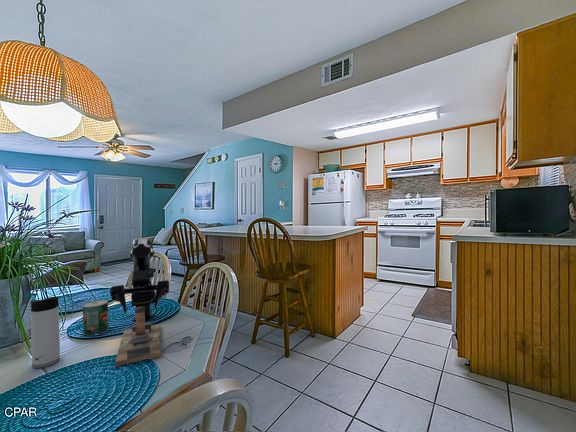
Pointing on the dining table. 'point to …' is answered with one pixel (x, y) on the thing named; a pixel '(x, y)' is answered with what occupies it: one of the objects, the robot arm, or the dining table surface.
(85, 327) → the canned tomato
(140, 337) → the handle
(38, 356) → the travel mug
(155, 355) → the press base
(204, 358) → the dining table surface
